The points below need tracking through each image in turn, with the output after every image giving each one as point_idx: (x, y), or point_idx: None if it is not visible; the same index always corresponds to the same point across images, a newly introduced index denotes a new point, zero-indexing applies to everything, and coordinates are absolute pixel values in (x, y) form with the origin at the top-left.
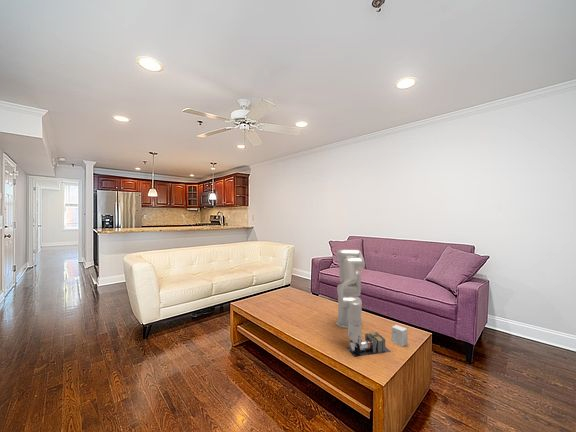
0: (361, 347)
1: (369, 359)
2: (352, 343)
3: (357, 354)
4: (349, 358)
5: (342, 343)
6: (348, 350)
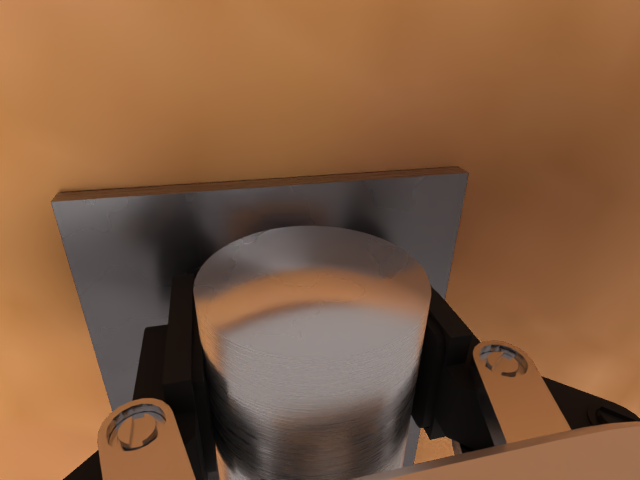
0: (220, 477)
1: (9, 440)
2: (315, 382)
3: (162, 305)
4: (38, 71)
5: (613, 171)
6: (347, 182)
